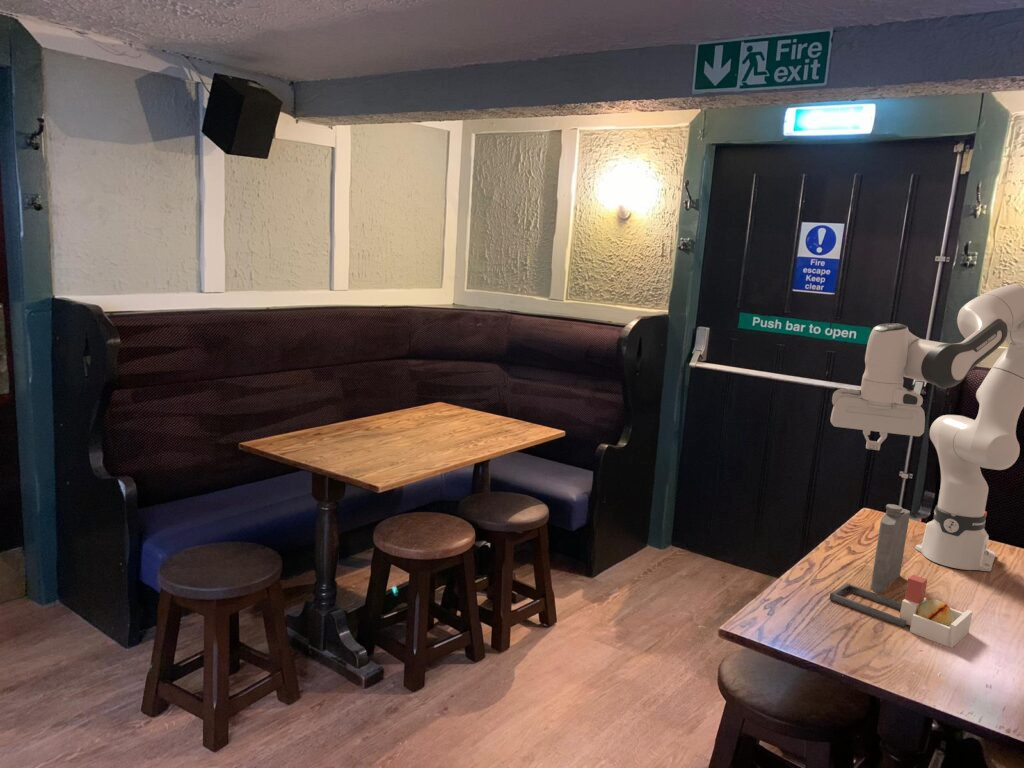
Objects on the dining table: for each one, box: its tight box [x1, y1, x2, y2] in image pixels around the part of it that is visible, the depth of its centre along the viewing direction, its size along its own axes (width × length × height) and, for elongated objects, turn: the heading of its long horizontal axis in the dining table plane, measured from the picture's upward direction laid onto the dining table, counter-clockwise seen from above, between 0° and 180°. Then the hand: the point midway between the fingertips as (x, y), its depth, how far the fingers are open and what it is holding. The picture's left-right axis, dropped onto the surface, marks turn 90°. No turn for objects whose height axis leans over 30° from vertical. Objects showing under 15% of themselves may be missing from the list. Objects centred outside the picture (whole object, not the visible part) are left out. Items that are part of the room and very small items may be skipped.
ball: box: [917, 599, 954, 627], centre depth 171 cm, size 7×7×7 cm
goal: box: [909, 607, 973, 649], centre depth 170 cm, size 11×8×5 cm
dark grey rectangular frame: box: [829, 583, 907, 629], centre depth 181 cm, size 9×17×2 cm, turn 43°
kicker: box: [899, 574, 928, 627], centre depth 174 cm, size 6×3×10 cm, turn 133°
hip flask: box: [869, 503, 911, 594], centre depth 194 cm, size 16×4×20 cm, turn 138°
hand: (872, 449), depth 186 cm, fingers closed
